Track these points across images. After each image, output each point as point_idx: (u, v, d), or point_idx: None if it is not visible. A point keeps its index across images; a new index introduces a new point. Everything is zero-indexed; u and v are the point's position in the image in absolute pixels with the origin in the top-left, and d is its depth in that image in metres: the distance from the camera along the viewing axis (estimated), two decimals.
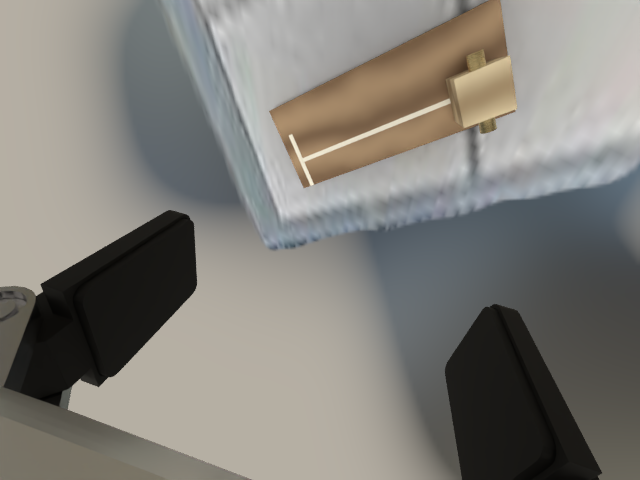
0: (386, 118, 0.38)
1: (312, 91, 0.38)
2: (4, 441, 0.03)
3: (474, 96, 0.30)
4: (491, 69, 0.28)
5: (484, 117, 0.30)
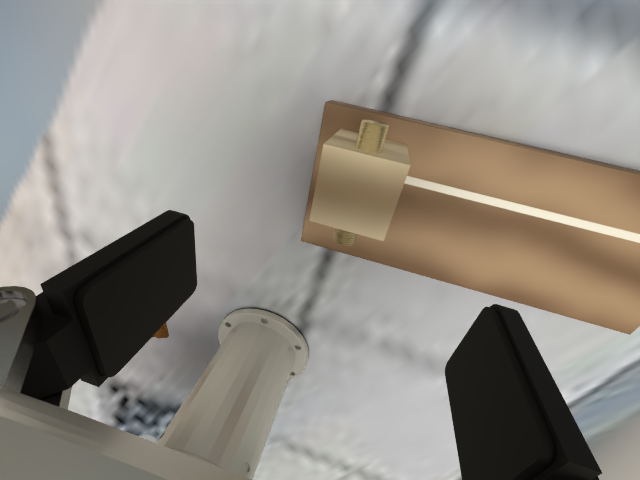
0: (491, 213, 0.22)
1: (546, 308, 0.25)
2: (5, 441, 0.03)
3: (370, 203, 0.17)
4: (334, 220, 0.19)
5: (372, 162, 0.16)
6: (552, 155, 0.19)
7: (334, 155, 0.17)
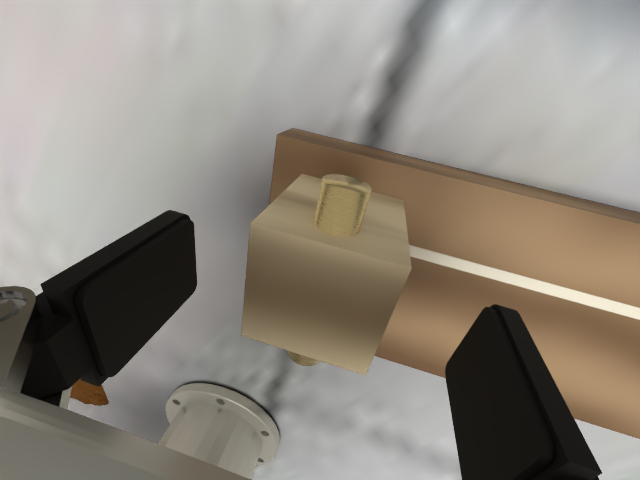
0: (531, 300, 0.15)
1: (605, 425, 0.17)
2: (5, 441, 0.03)
3: (340, 320, 0.10)
4: (282, 339, 0.11)
5: (340, 258, 0.09)
6: (637, 224, 0.12)
7: (271, 242, 0.09)
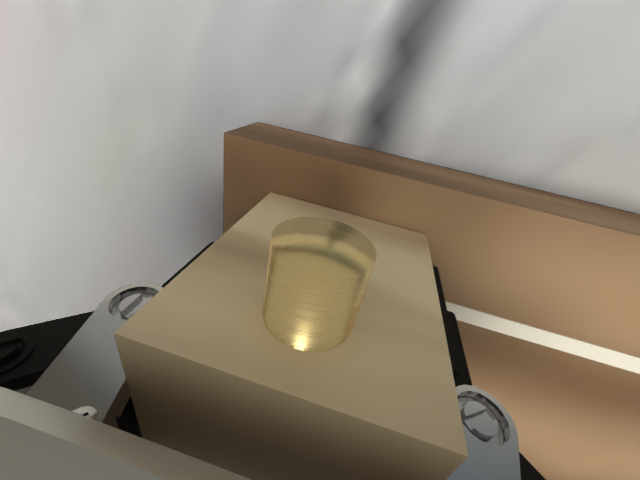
0: (610, 379, 0.10)
1: None
2: (4, 441, 0.03)
3: None
4: None
5: (307, 414, 0.04)
6: None
7: (164, 370, 0.04)
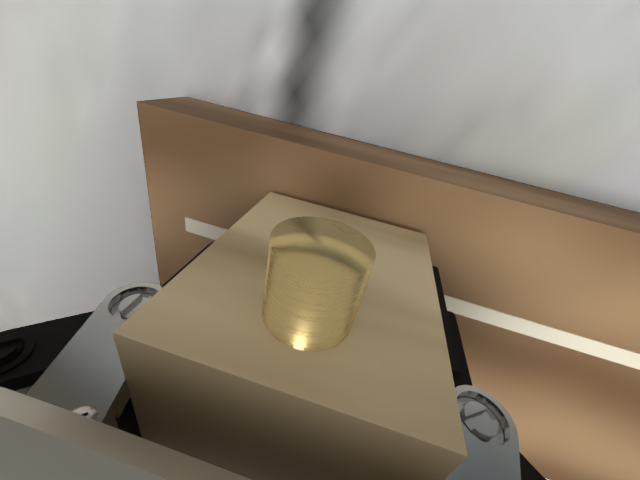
0: (511, 344, 0.10)
1: None
2: (5, 441, 0.03)
3: None
4: None
5: (306, 413, 0.04)
6: None
7: (163, 369, 0.04)
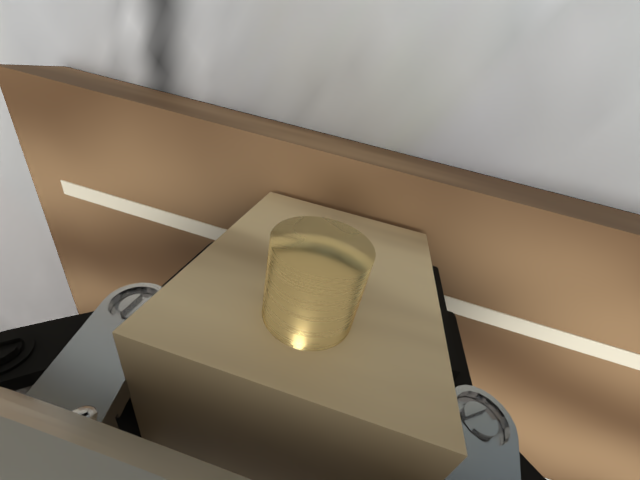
0: None
1: None
2: (4, 441, 0.03)
3: None
4: None
5: (306, 413, 0.04)
6: (468, 190, 0.08)
7: (163, 369, 0.04)
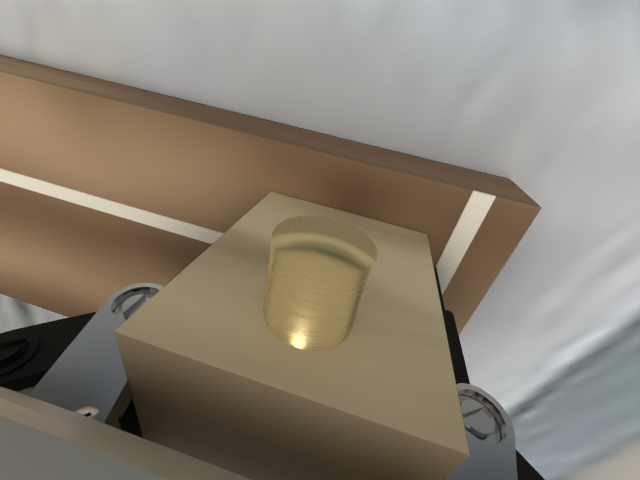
0: (94, 220, 0.12)
1: None
2: (4, 441, 0.03)
3: None
4: None
5: (308, 412, 0.04)
6: (109, 99, 0.09)
7: (165, 368, 0.04)
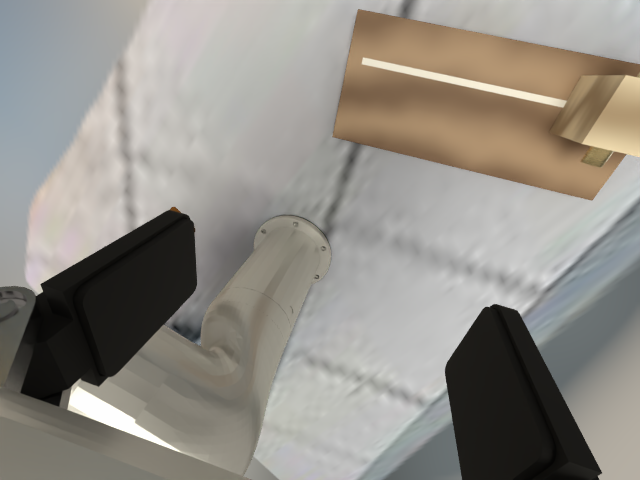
0: (483, 97, 0.29)
1: (527, 182, 0.32)
2: (4, 441, 0.03)
3: None
4: (607, 142, 0.23)
5: None
6: (528, 43, 0.26)
7: (632, 84, 0.21)
